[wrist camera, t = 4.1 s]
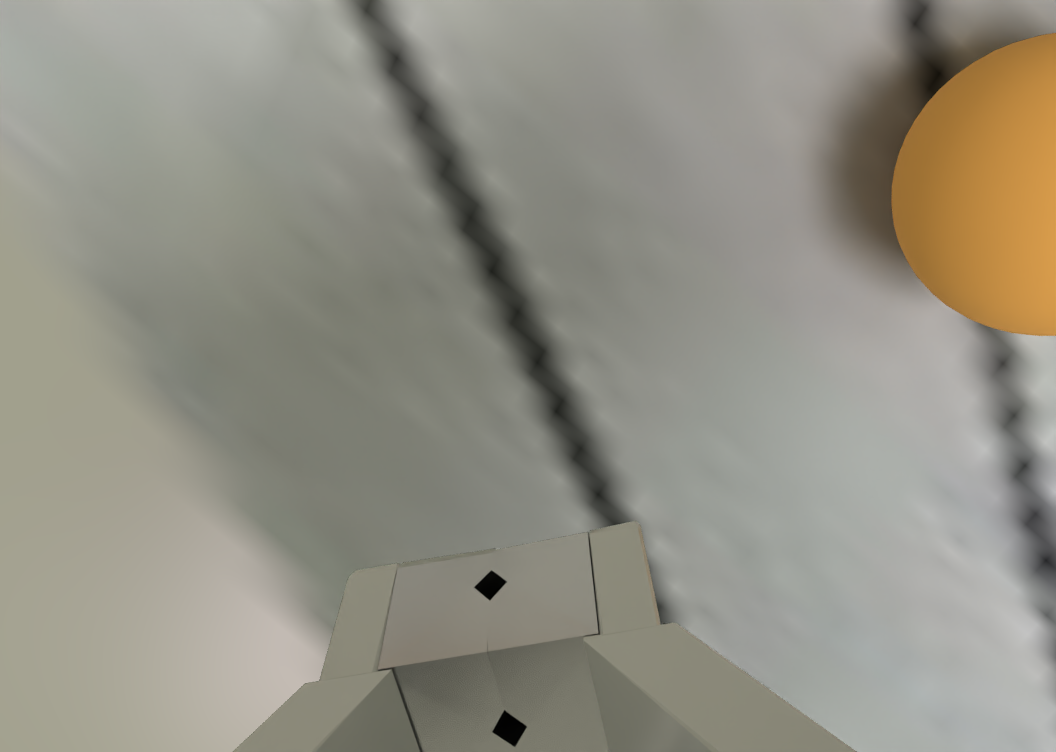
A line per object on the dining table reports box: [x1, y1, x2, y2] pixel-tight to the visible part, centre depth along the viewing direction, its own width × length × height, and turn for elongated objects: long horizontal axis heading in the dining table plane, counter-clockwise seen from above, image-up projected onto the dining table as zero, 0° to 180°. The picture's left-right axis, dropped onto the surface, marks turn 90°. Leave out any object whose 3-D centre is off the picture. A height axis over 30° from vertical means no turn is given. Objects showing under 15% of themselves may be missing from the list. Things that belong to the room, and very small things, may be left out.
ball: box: [891, 33, 1056, 336], centre depth 19 cm, size 6×6×6 cm
